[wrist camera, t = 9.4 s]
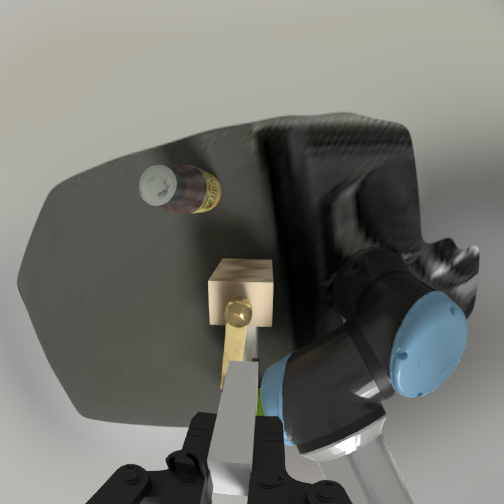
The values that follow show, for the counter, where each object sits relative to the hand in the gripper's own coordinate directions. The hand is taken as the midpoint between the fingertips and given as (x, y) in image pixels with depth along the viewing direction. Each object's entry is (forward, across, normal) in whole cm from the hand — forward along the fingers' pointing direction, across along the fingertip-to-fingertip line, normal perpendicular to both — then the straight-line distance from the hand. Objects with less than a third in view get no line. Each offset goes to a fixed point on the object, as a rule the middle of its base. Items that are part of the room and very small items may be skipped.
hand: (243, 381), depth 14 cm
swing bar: (+19, -3, -9) cm, 21 cm away
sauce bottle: (+33, -9, +10) cm, 35 cm away
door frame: (+32, -2, -11) cm, 34 cm away
